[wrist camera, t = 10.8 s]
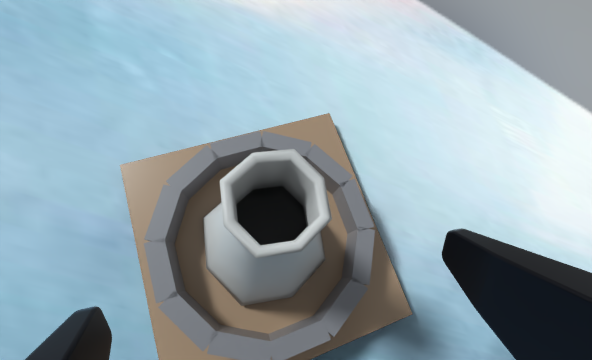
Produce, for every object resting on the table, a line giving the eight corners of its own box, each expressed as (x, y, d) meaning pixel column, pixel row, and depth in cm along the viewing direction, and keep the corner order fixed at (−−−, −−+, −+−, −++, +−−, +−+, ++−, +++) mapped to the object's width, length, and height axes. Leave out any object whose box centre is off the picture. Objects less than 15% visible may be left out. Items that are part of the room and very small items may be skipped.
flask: (290, 165, 20) (324, 61, 10) (344, 266, 18) (443, 257, 9) (183, 212, 18) (102, 140, 8) (233, 330, 16) (203, 406, 7)
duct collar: (404, 312, 19) (431, 318, 16) (176, 411, 16) (158, 442, 13) (326, 120, 22) (336, 97, 19) (126, 170, 19) (104, 152, 16)
